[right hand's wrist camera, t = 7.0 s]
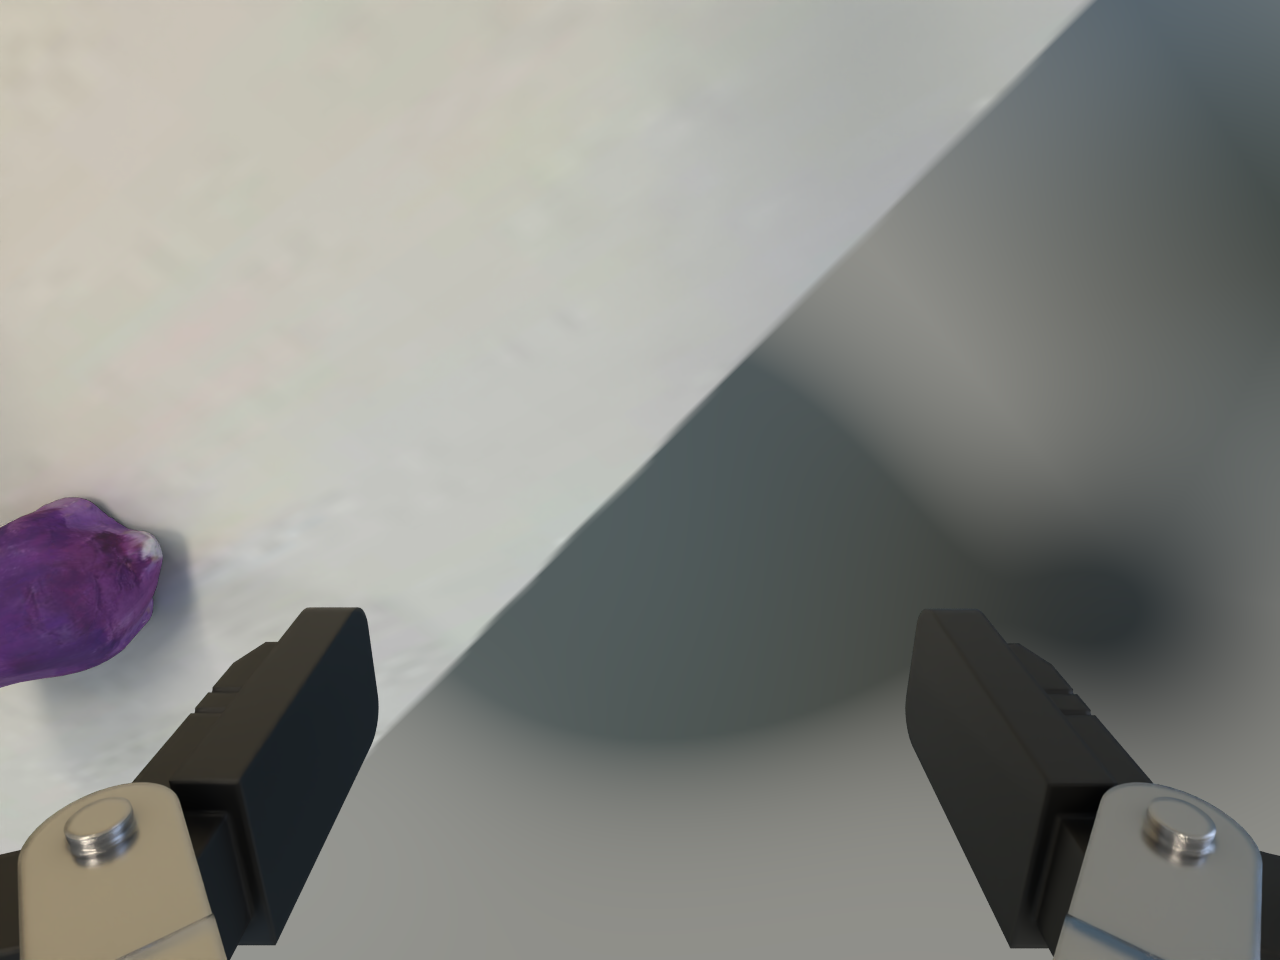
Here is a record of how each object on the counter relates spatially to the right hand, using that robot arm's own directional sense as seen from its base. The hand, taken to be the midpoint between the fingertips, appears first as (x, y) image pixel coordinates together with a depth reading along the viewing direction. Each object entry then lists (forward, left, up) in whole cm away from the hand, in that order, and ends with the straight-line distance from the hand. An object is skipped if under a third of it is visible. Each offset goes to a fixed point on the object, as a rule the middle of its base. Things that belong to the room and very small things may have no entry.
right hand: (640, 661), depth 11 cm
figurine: (+9, -31, -28) cm, 43 cm away
